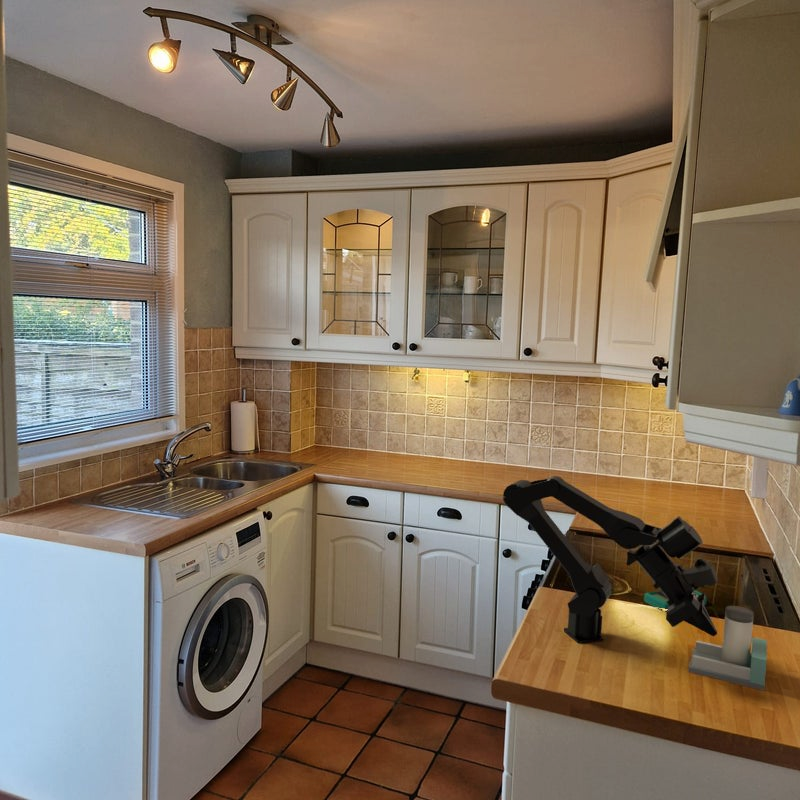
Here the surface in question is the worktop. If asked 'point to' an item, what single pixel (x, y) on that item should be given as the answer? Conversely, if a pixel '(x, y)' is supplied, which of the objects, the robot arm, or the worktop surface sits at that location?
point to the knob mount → (712, 665)
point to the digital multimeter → (661, 599)
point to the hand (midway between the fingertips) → (715, 634)
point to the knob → (737, 635)
